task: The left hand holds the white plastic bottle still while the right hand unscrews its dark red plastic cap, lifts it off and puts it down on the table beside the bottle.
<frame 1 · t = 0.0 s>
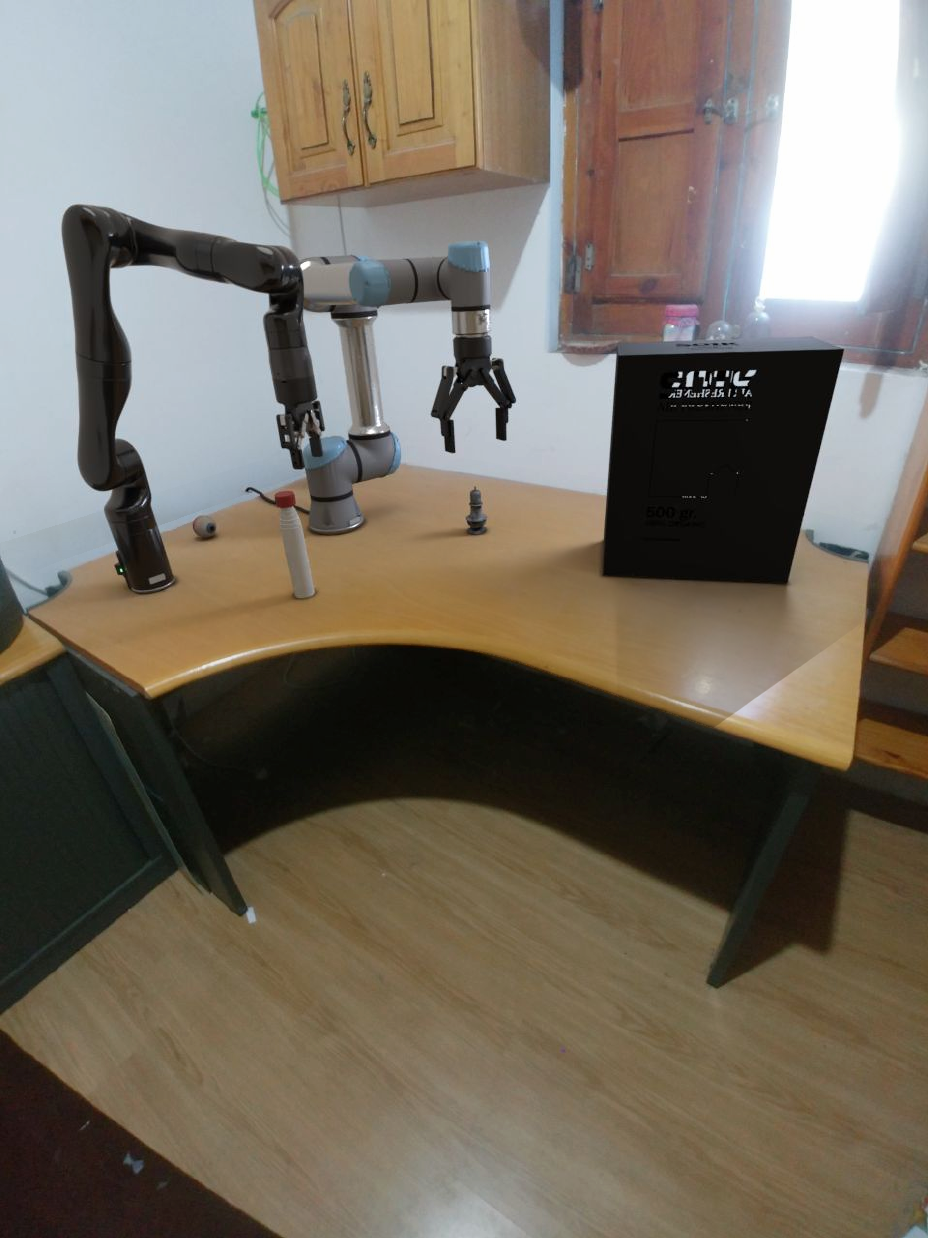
left hand: (308, 462, 118), 29 cm above the table, tool pointing down, fingers open, 8 cm apart
right hand: (476, 445, 127), 28 cm above the table, tool pointing down, fingers open, 13 cm apart
bottle: (304, 593, 134), on the table
cap: (284, 495, 122), point 23 cm above the table, screwed on, not yet turned
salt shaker: (476, 530, 160), on the table
eyeball: (208, 537, 166), on the table
cardboard box: (687, 560, 138), on the table
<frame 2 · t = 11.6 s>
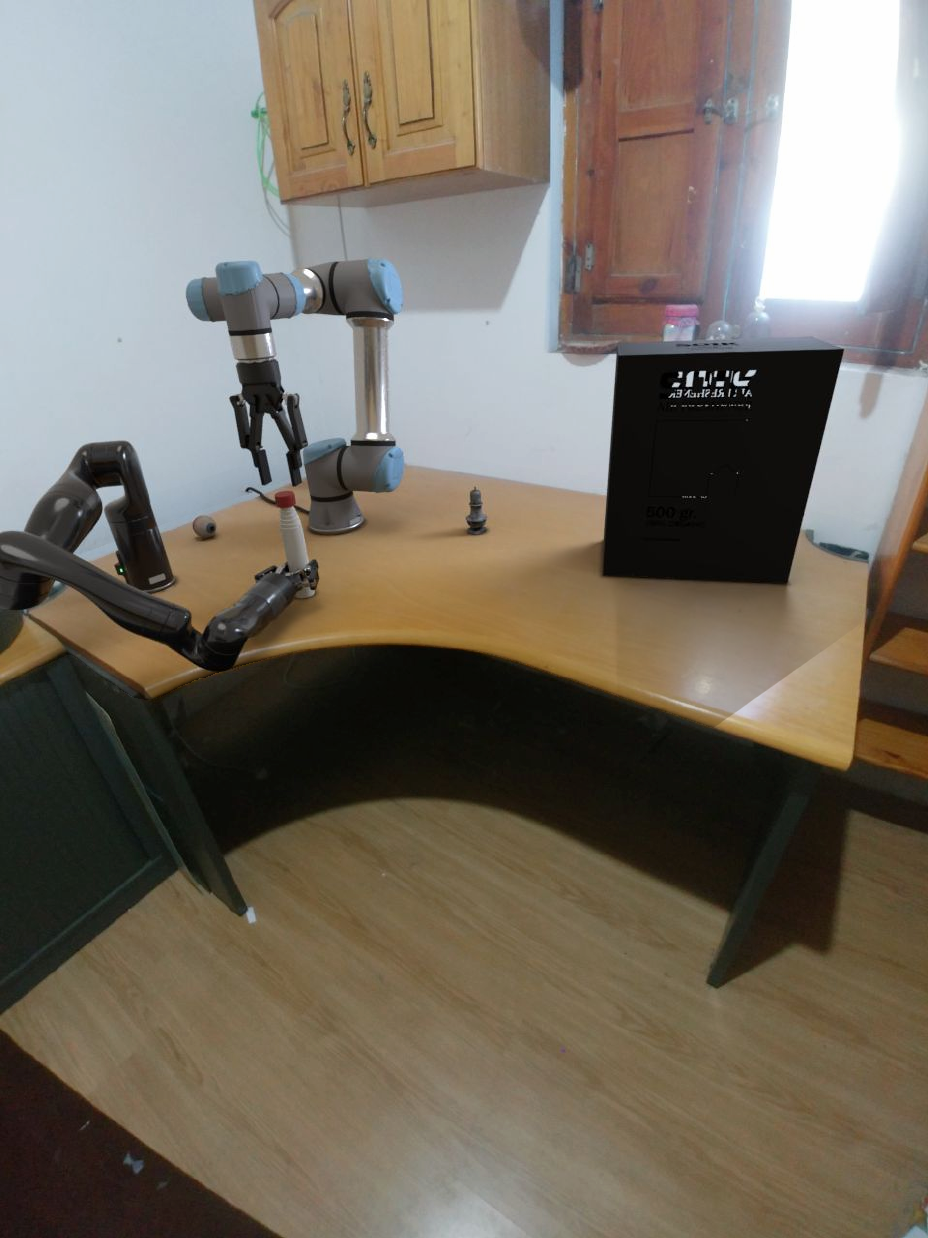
left hand: (305, 562, 133), 6 cm above the table, tool horizontal, fingers closed on bottle, 4 cm apart
right hand: (282, 483, 121), 25 cm above the table, tool pointing down, fingers open, 6 cm apart
bottle: (304, 593, 134), on the table, touching left hand
everything else where it was.
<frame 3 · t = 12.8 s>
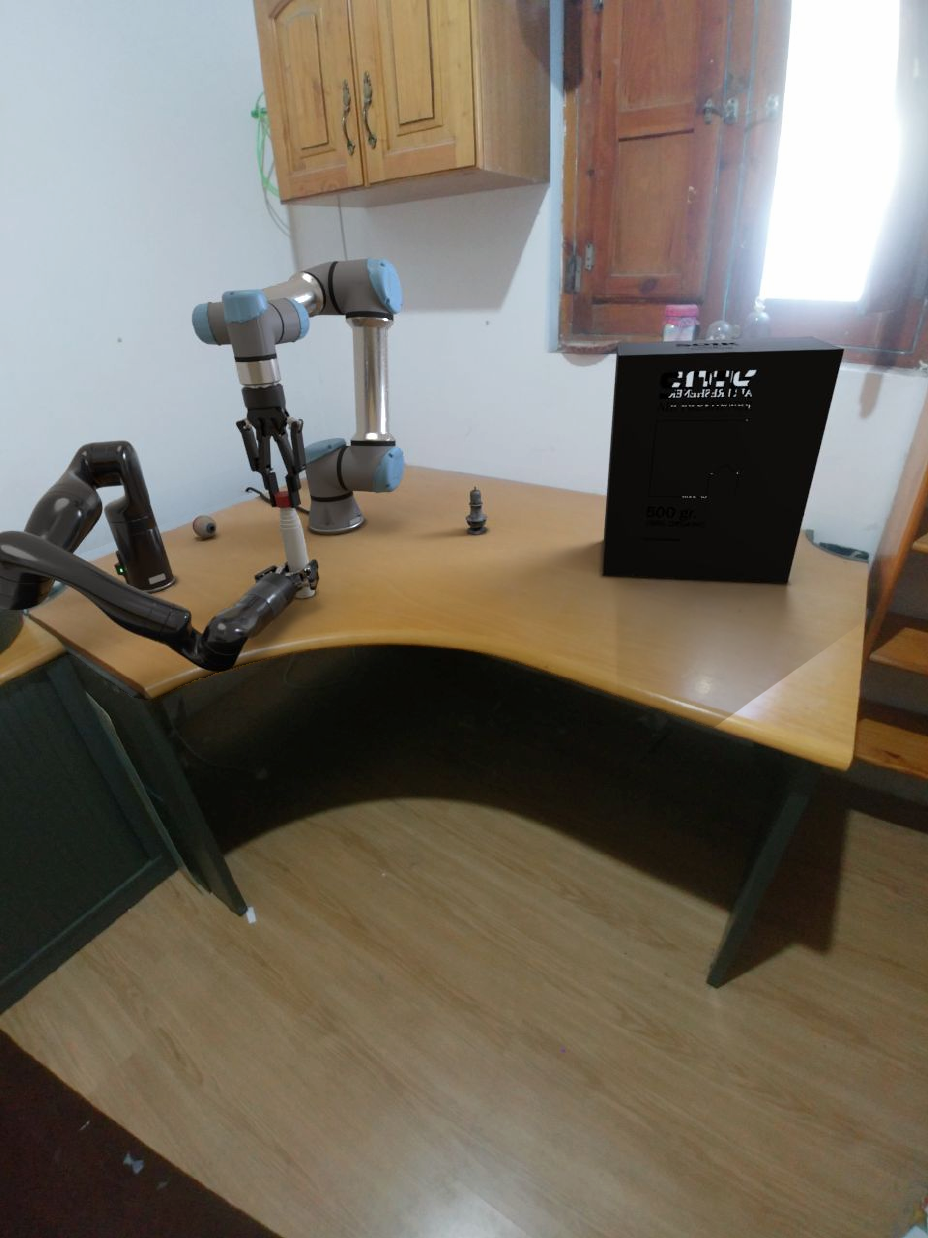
left hand: (305, 562, 133), 6 cm above the table, tool horizontal, fingers closed on bottle, 4 cm apart
right hand: (286, 505, 123), 20 cm above the table, tool pointing down, fingers closed on cap, 4 cm apart
bottle: (304, 593, 134), on the table, touching left hand
cap: (284, 495, 122), point 23 cm above the table, screwed on, not yet turned, touching right hand
everything else where it was.
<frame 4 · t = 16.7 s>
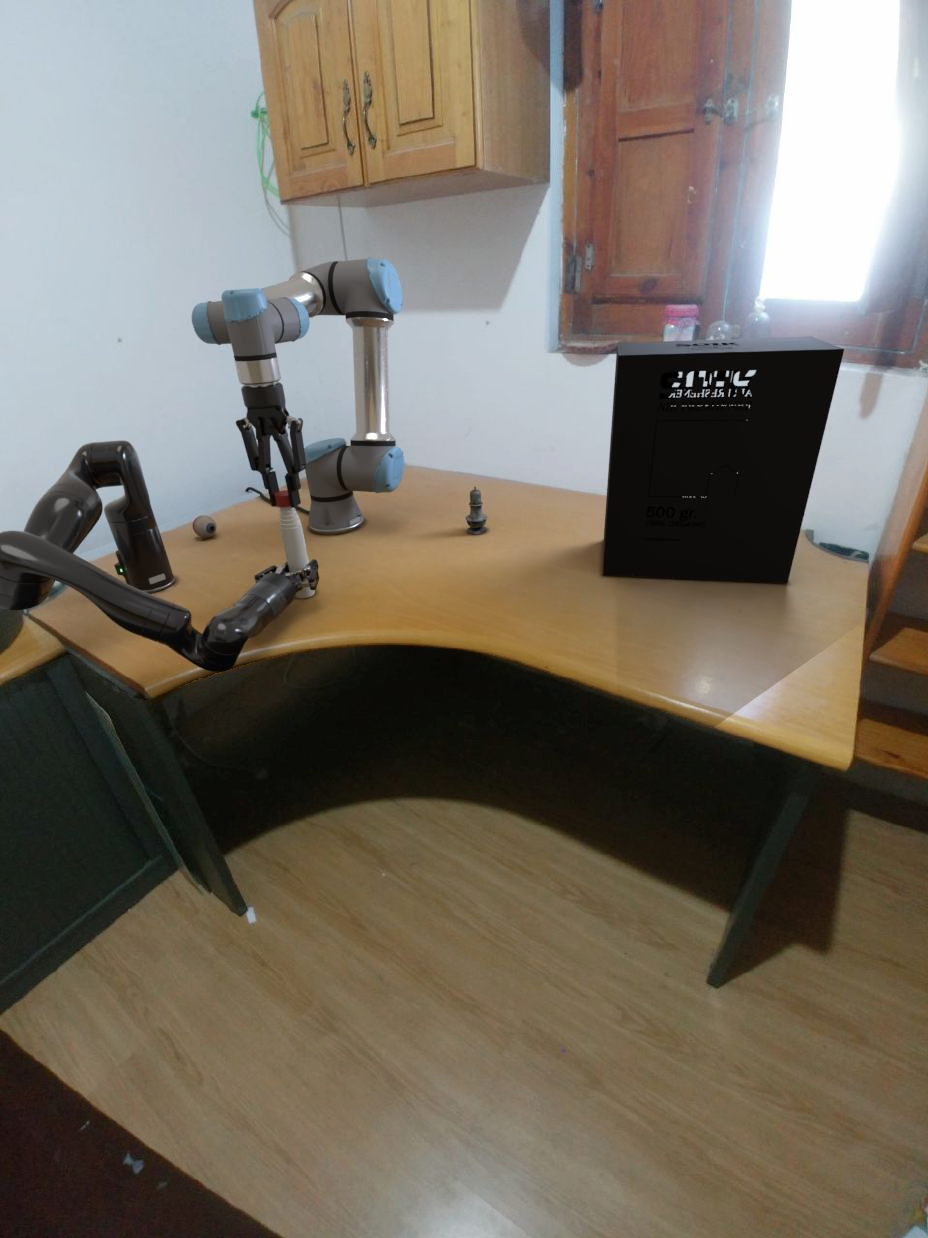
left hand: (305, 562, 133), 6 cm above the table, tool horizontal, fingers closed on bottle, 4 cm apart
right hand: (286, 504, 123), 21 cm above the table, tool pointing down, fingers closed on cap, 4 cm apart
bottle: (304, 593, 134), on the table, touching left hand
cap: (284, 494, 122), point 23 cm above the table, turned 137° so far, risen 0.1 cm, still on its thread, touching right hand
everything else where it was.
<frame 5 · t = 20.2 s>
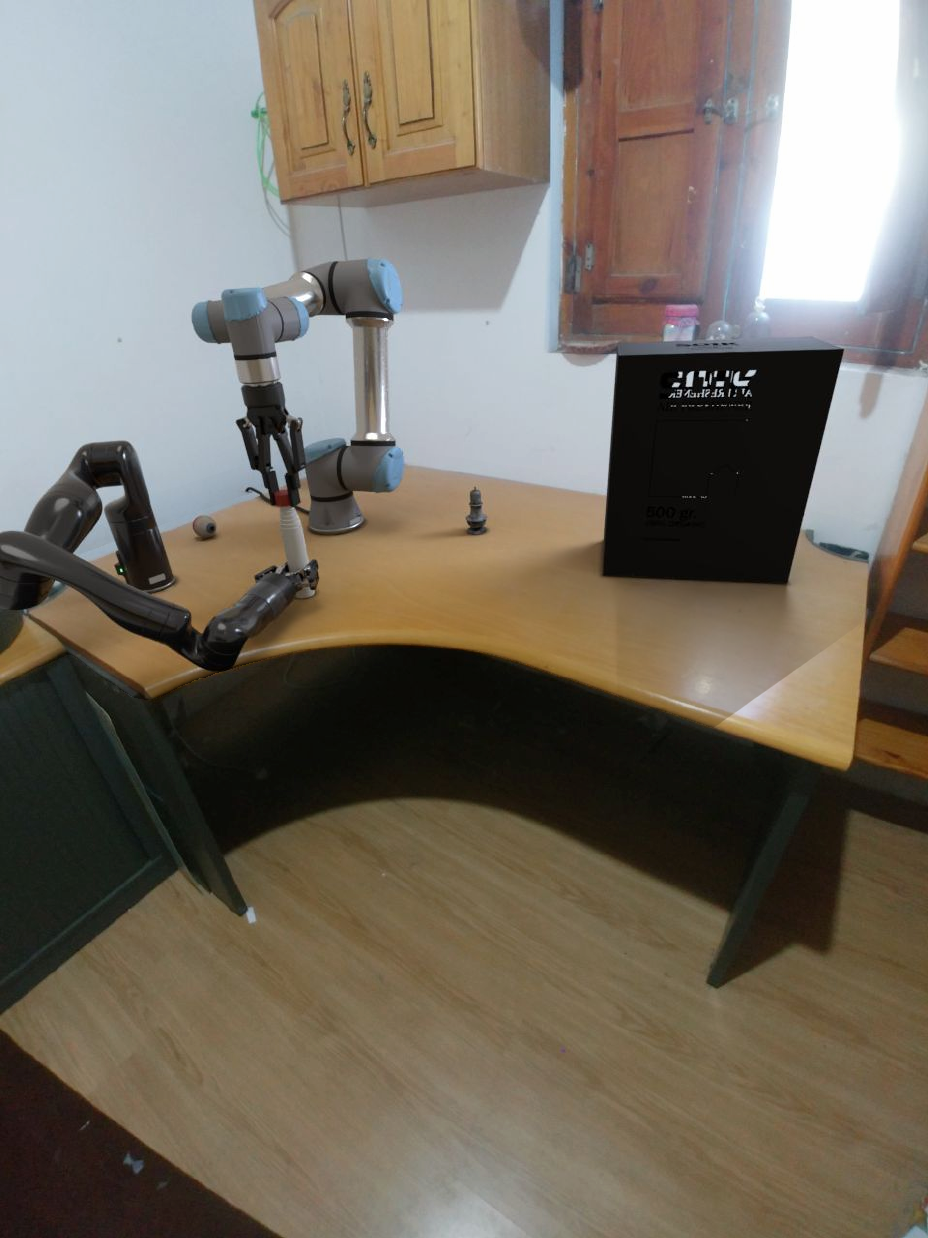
left hand: (304, 562, 133), 6 cm above the table, tool horizontal, fingers closed on bottle, 4 cm apart
right hand: (286, 503, 123), 21 cm above the table, tool pointing down, fingers closed on cap, 4 cm apart
bottle: (304, 593, 134), on the table, touching left hand
cap: (284, 493, 122), point 23 cm above the table, turned 275° so far, risen 0.3 cm, still on its thread, touching right hand
everything else where it was.
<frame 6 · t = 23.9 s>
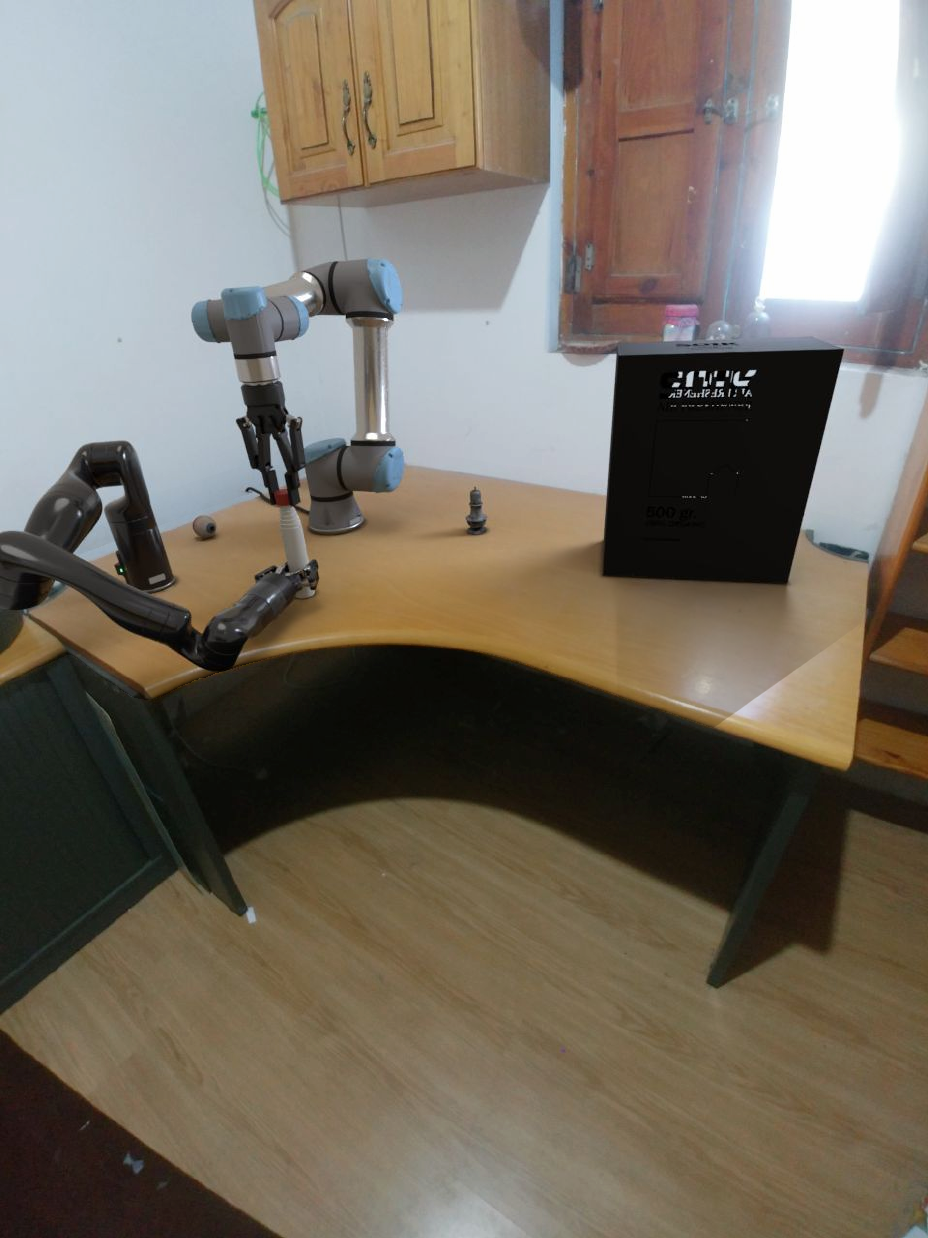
left hand: (304, 562, 133), 6 cm above the table, tool horizontal, fingers closed on bottle, 4 cm apart
right hand: (286, 503, 123), 21 cm above the table, tool pointing down, fingers closed on cap, 4 cm apart
bottle: (304, 593, 134), on the table, touching left hand
cap: (283, 493, 122), point 23 cm above the table, turned 412° so far, risen 0.4 cm, still on its thread, touching right hand
everything else where it was.
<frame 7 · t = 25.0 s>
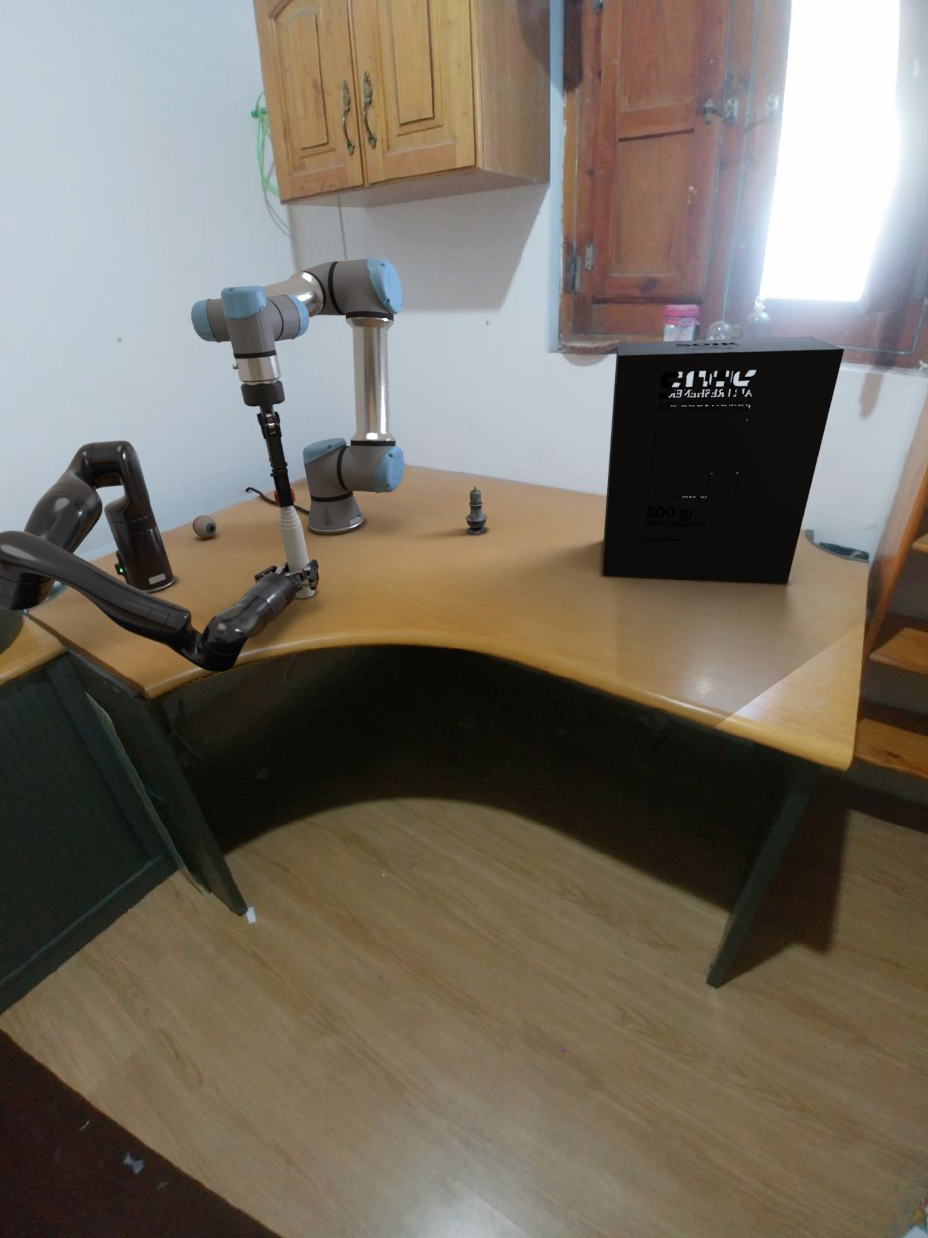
left hand: (304, 562, 133), 6 cm above the table, tool horizontal, fingers closed on bottle, 4 cm apart
right hand: (285, 502, 123), 21 cm above the table, tool pointing down, fingers closed on cap, 4 cm apart
bottle: (304, 593, 134), on the table, touching left hand
cap: (283, 492, 122), point 23 cm above the table, off its thread, touching right hand
everything else where it was.
when the right hand's fingers open (1 cm above the table, at t = 32.6 s): cap drops 1 cm, point 2 cm above the table.
when the left hand's fingers open (6 cm above the table, at t = 33.8 s): bottle stays where it is, on the table.
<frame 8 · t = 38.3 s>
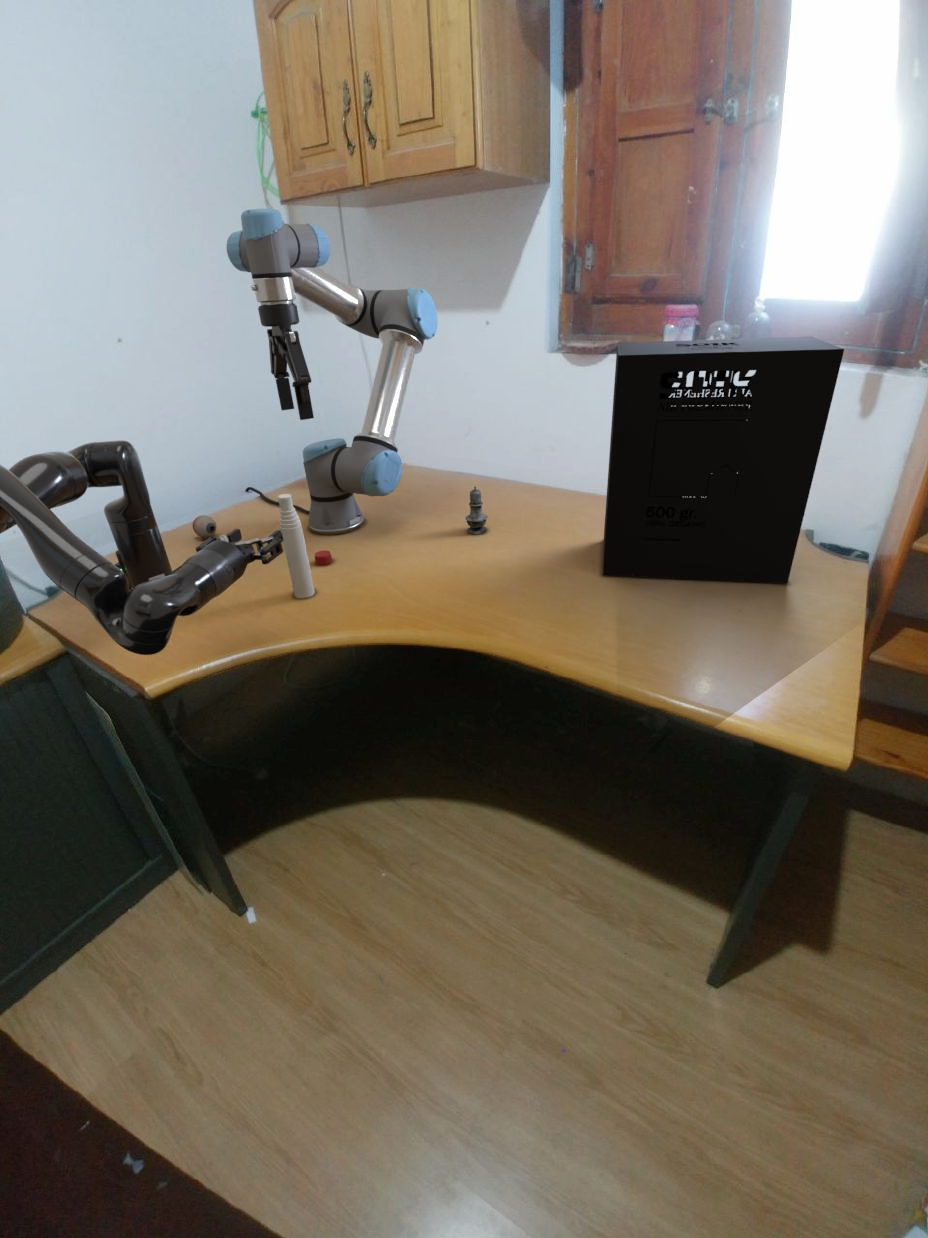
left hand: (259, 534, 114), 19 cm above the table, tool horizontal, fingers open, 8 cm apart
right hand: (297, 414, 130), 35 cm above the table, tool pointing down, fingers open, 13 cm apart
bottle: (304, 593, 133), on the table
cap: (322, 554, 147), point 2 cm above the table, off its thread
everything else where it was.
at the end: cap came off its thread; cap point 2.1 cm above the table; the left hand is holding nothing; the right hand is holding nothing; bottle tilted 0°; bottle moved 0.0 cm from its start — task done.
